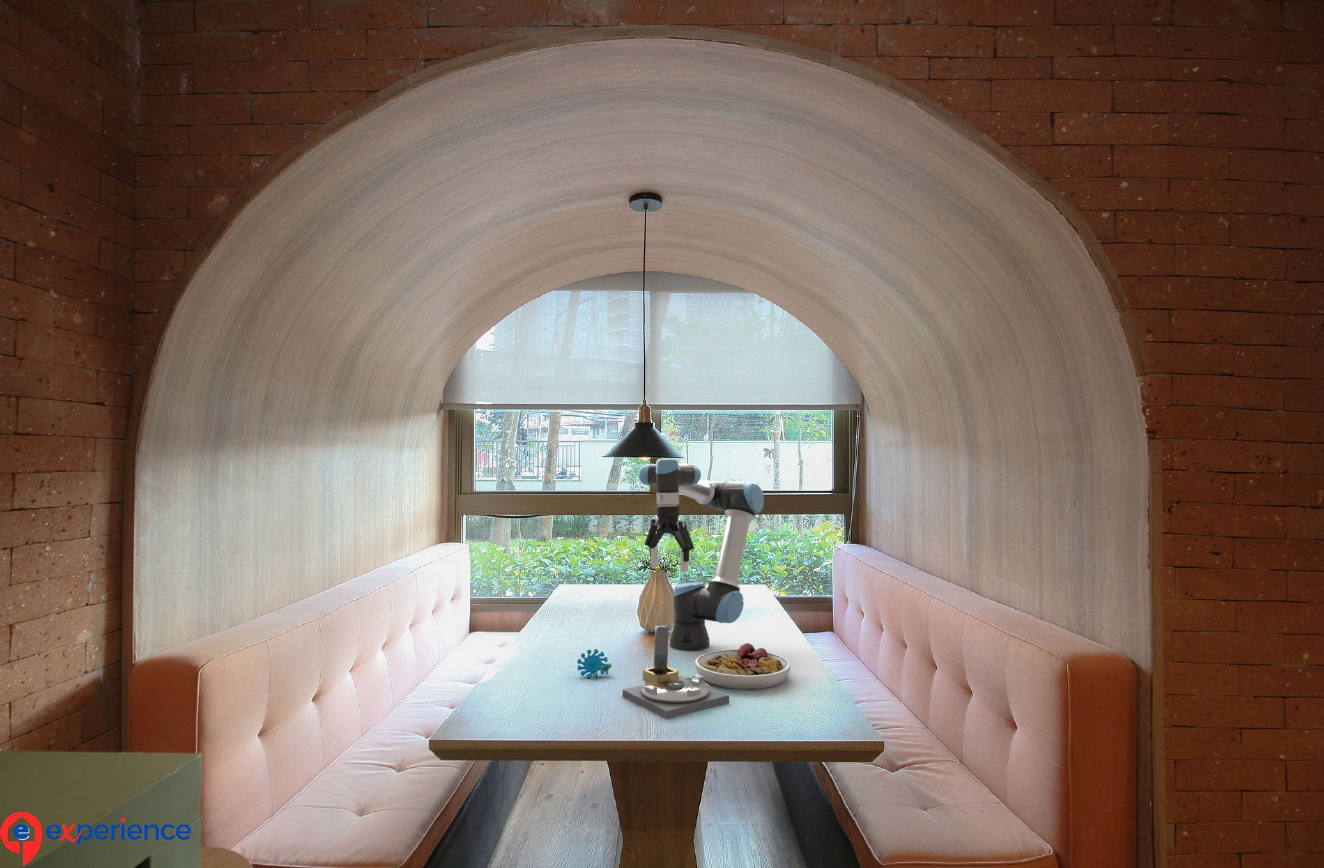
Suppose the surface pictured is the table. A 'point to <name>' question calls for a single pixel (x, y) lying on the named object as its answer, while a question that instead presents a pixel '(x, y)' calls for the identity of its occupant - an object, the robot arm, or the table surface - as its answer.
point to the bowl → (743, 668)
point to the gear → (593, 664)
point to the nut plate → (675, 708)
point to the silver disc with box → (673, 687)
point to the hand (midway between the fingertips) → (669, 569)
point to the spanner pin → (661, 649)
